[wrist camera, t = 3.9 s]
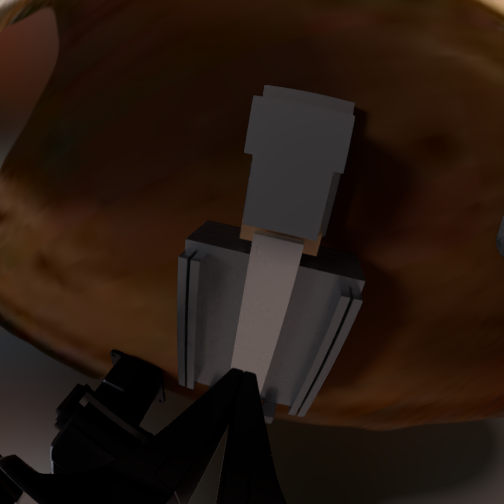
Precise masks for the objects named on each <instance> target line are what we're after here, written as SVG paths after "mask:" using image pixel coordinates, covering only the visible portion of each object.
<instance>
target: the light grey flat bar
mask: <svg viewBox="0 0 504 504" xmlns="http://www.w3.org/2000/svg"><path fill="white" fill-rule="evenodd" d="M304 241H305V240H301V239H296V238H292V237H288V236H284V235H279V234H275V233H270V232H266V231H262V230H257V229H256V230H255V232H254V234H253V240H252V246H251V252H250V258H249V263H248V269H247V275H246V281H245V287H244V293H243V298H242V304H241V310H240V316H239V322H238V328H237V334H236V339H235V345H234V351H233V357H232V363H231V368H238V369H241V370H243V371H249V372H253V373H255V374H256V376H257V381H258V387H259V392H260V393H261V390H262V387H263V384H264V381H265V378H266V375H267V372H268V369H269V366H270V363H271V360H272V356H273V353H274V350H275V347H276V344H277V340H278V337H279V334H280V330H281V327H282V324H283V320H284V317H285V313H286V310H287V307H288V303H289V299H290V296H291V292H292V289H293V285H294V282H295V278H296V274H297V270H298V267H299V263H300V259H301V255H302V251H303V248H304Z"/></svg>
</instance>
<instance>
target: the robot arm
mask: <svg viewBox="0 0 504 504" xmlns="http://www.w3.org/2000/svg"><path fill="white" fill-rule="evenodd" d="M110 356H111V359H112V363H113V368H112V369H111V370H110V371H109V373H108V374H107V375H106V377H105V378H104V379H103V382H102V383H101V384H100V385H99V387H98V388H97V389H96V391H95V392H94V391H93V390H92V389H91V388H90V386H89V385H87V384H86V385H85V386H83V385H80V384H77V385H76V386H75V388H74V389H73V390H72V391H71V393H70V394H69V395H68V396H67V397H66V398H65V400H64V401H63V402H62V403H61V404H60V405H59V407H58V408H57V409H56V416H57V418H56V421H57V422H56V423H55V425H54V427H55V428H56V429H57V430H58V431H59V432H58V434H57V435H56V437H55V438H54V439H53V441H52V443H51V473H50V474H42V473H38V472H37V471H36V470H34V469H33V468H32V467H30V466H29V465H28V464H27V463H25V462H24V461H23V460H22V459H21V458H19V457H18V456H16V455H9V456H5V457H2V456H1V454H0V504H188V502H189V501H190V499H191V497H192V495H193V493H194V492H195V490H196V488H197V486H198V483H199V482H200V480H201V478H202V477H203V475H204V473H205V471H206V469H207V467H208V465H209V463H210V461H211V459H212V457H213V455H214V453H215V451H216V449H217V447H218V445H219V443H220V441H221V439H222V437H223V435H224V433H225V431H226V429H227V427H228V424H229V427H228V433H227V439H226V445H225V451H224V457H223V463H222V469H221V475H220V481H219V487H218V493H217V499H216V504H287V503H286V501H285V498H284V496H283V493H282V491H281V488H280V485H279V482H278V479H277V475H276V471H275V467H274V463H273V458H272V456H271V455H272V453H271V449H270V443H269V438H268V433H267V428H266V423H265V418H264V413H263V408H262V402H261V397H260V392H259V387H258V381H257V376H256V374H255V373H253V372H249V371H243V370H241V369H238V368H231V369H230V370H229V371H228V372H227V373H226V374H225V375H224V376H223V377H222V378H221V379H219V380H218V381H217V382H216V383H215V384H214V385H213V386H212V387H211V388H210V389H209V390H208V391H206V392H205V393H204V394H203V395H202V396H201V397H200V398H199V399H198V400H196V401H195V402H194V403H193V404H192V405H191V406H190V407H189V408H187V409H186V410H185V411H184V412H183V413H182V414H180V415H179V416H178V417H177V418H176V419H175V420H173V421H172V422H171V423H170V424H169V427H168V426H166V427H165V428H164V429H163V430H161V431H160V432H159V433H158V434H156V435H155V436H154V435H153V434H152V433H150V432H147V431H146V430H144V429H143V428H141V427H140V424H141V422H142V421H143V419H144V417H145V415H146V414H147V412H148V410H149V408H150V407H151V405H152V403H153V401H157V402H159V403H164V402H165V392H164V384H163V376H162V371H161V370H160V369H158V368H156V367H153V366H151V365H148V364H146V363H143V362H141V361H138V360H136V359H134V358H131V357H129V356H127V355H125V354H122V353H120V352H118V351H116V350H112V351H111V352H110ZM79 401H80V402H82V403H83V404H84V405H85V406H84V407H83V406H82V405H81V404H80V403H79ZM229 422H230V423H229Z"/></svg>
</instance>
